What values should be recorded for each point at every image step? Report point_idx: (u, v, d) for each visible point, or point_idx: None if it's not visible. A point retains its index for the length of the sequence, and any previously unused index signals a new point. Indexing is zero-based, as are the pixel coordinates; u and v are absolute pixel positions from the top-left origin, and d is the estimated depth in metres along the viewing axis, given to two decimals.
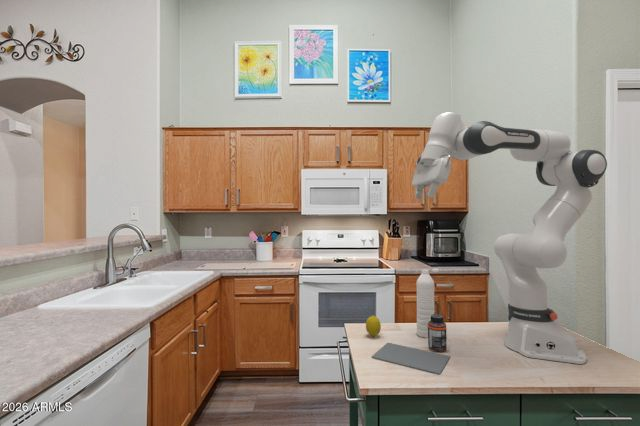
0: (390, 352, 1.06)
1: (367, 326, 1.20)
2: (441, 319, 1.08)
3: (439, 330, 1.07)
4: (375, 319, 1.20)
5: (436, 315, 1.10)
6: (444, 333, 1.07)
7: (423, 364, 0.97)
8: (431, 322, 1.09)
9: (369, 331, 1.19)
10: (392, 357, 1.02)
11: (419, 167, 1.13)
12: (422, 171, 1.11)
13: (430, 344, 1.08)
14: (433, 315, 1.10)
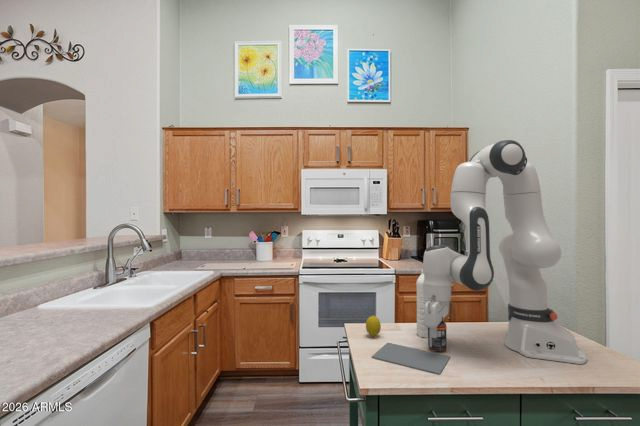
0: (390, 352, 1.06)
1: (367, 326, 1.20)
2: None
3: (439, 330, 1.07)
4: (375, 319, 1.20)
5: None
6: (444, 333, 1.07)
7: (423, 364, 0.97)
8: None
9: (369, 331, 1.19)
10: (392, 357, 1.02)
11: None
12: None
13: (430, 344, 1.08)
14: None
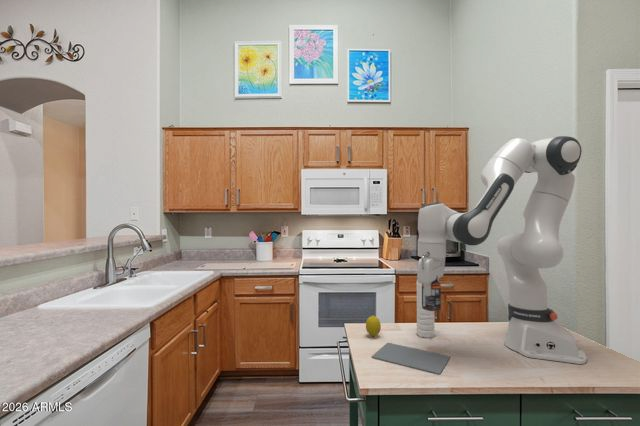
0: (390, 352, 1.06)
1: (367, 326, 1.20)
2: None
3: (433, 288, 1.04)
4: (375, 319, 1.20)
5: None
6: (438, 292, 1.04)
7: (423, 364, 0.97)
8: None
9: (369, 331, 1.19)
10: (392, 357, 1.02)
11: None
12: None
13: (424, 303, 1.05)
14: None
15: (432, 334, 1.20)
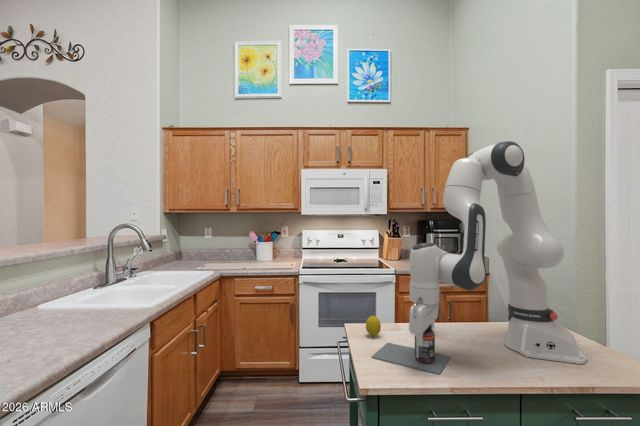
0: (390, 352, 1.06)
1: (367, 326, 1.20)
2: (429, 327, 0.98)
3: (426, 340, 0.97)
4: (375, 319, 1.20)
5: None
6: (432, 343, 0.98)
7: (423, 364, 0.97)
8: None
9: (369, 331, 1.19)
10: (392, 357, 1.02)
11: None
12: None
13: (417, 355, 0.99)
14: None
15: None
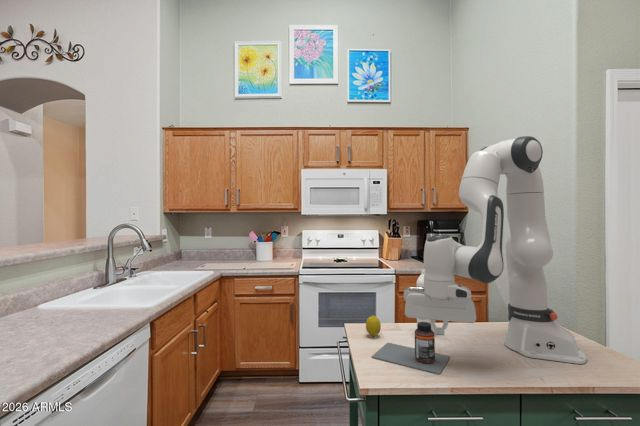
0: (390, 352, 1.06)
1: (367, 326, 1.20)
2: (429, 327, 0.98)
3: (426, 339, 0.97)
4: (375, 319, 1.20)
5: (423, 323, 1.00)
6: (432, 343, 0.98)
7: (423, 364, 0.97)
8: (418, 330, 0.99)
9: (369, 331, 1.19)
10: (392, 357, 1.02)
11: None
12: None
13: (417, 355, 0.99)
14: (420, 323, 1.01)
15: None
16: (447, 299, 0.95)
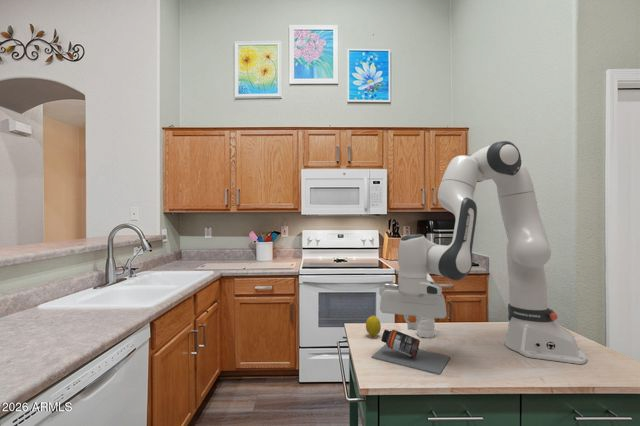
0: (390, 352, 1.06)
1: (367, 326, 1.20)
2: (385, 332, 1.04)
3: (393, 339, 1.02)
4: (375, 319, 1.20)
5: None
6: (399, 335, 1.02)
7: (423, 364, 0.97)
8: (386, 343, 1.04)
9: (369, 331, 1.19)
10: (392, 357, 1.02)
11: None
12: None
13: (408, 355, 1.00)
14: None
15: (432, 334, 1.20)
16: (419, 295, 1.00)
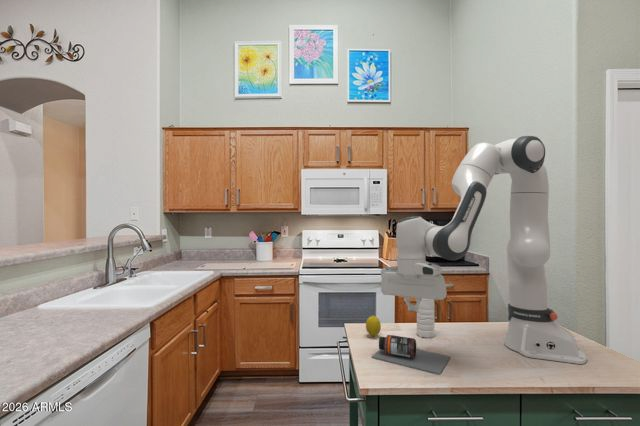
0: None
1: (367, 326, 1.20)
2: (381, 339, 1.05)
3: (390, 344, 1.02)
4: (375, 319, 1.20)
5: None
6: (394, 338, 1.03)
7: (423, 364, 0.97)
8: (384, 350, 1.04)
9: (369, 331, 1.19)
10: (392, 357, 1.02)
11: None
12: None
13: (407, 356, 1.00)
14: None
15: (432, 334, 1.20)
16: (416, 277, 1.00)
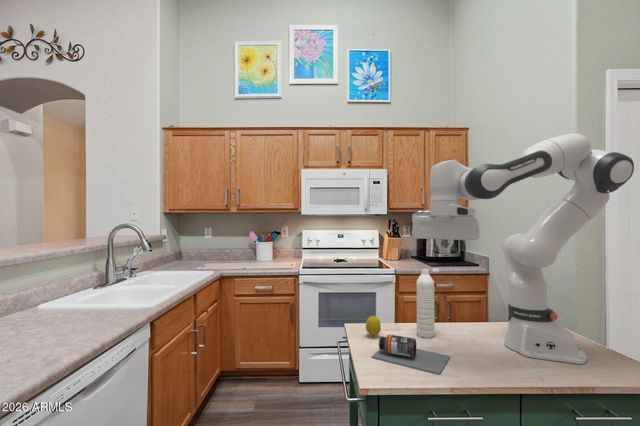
0: None
1: (367, 326, 1.20)
2: (381, 338, 1.05)
3: (390, 343, 1.03)
4: (375, 319, 1.20)
5: None
6: (394, 338, 1.03)
7: (423, 364, 0.97)
8: (385, 349, 1.04)
9: (369, 331, 1.19)
10: (392, 357, 1.02)
11: None
12: None
13: (407, 355, 1.00)
14: None
15: (432, 334, 1.20)
16: (450, 218, 1.00)
